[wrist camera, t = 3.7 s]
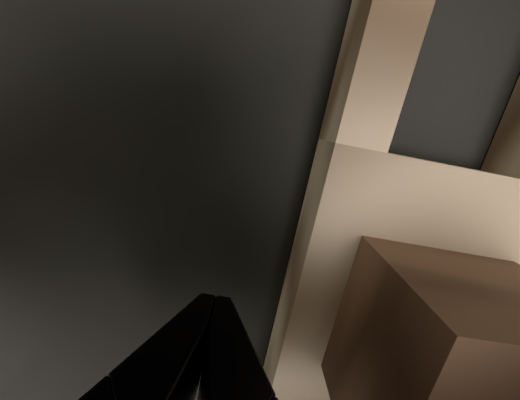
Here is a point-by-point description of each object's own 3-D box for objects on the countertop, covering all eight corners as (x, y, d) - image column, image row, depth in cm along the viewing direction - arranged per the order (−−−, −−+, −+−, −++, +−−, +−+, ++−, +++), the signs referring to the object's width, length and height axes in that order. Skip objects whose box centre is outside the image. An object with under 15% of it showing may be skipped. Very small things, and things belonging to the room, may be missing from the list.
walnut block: (453, 383, 10) (581, 550, 6) (321, 365, 10) (366, 530, 6) (513, 261, 9) (727, 376, 5) (361, 235, 8) (458, 336, 4)
